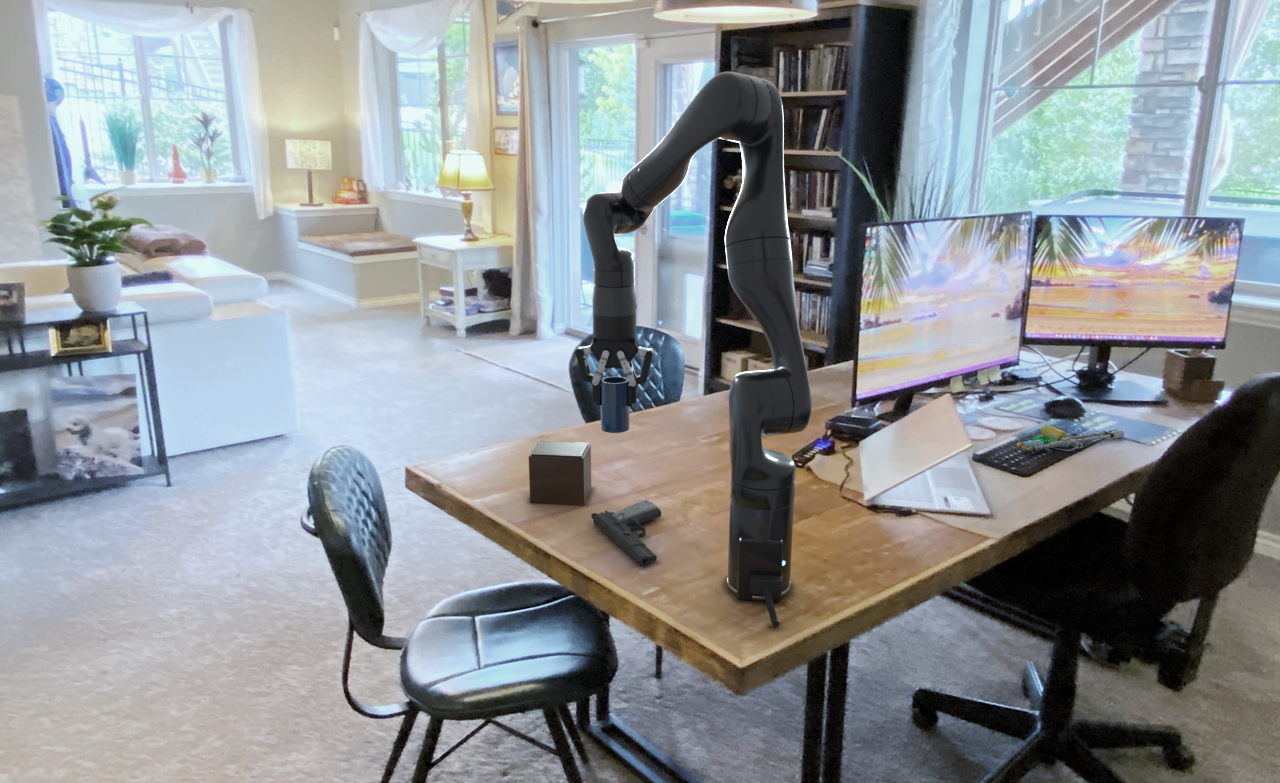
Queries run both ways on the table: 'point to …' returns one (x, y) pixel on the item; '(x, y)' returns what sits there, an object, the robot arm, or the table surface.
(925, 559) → the table surface
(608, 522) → the handgun
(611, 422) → the pen cup
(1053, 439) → the flamethrower
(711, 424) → the table surface
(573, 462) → the dark brown box
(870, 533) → the table surface
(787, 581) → the robot arm
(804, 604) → the table surface
